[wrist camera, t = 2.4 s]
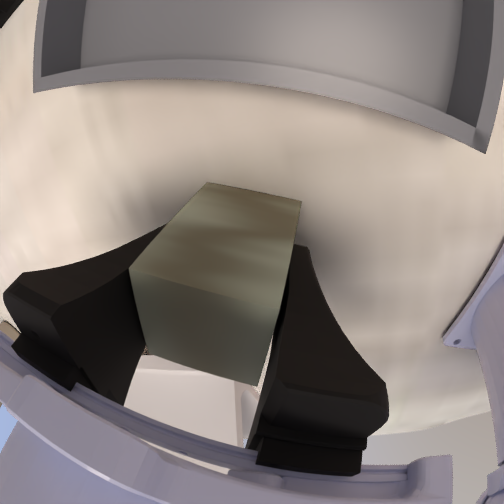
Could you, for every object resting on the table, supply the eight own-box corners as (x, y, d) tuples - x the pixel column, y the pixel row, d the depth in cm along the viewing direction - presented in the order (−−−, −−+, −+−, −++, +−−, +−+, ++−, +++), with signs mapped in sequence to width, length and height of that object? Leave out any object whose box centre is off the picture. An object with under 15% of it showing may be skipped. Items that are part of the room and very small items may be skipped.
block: (301, 201, 11) (279, 309, 7) (283, 276, 14) (257, 386, 9) (207, 182, 12) (128, 268, 7) (204, 257, 14) (148, 353, 10)
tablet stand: (295, 434, 26) (260, 574, 12) (135, 415, 36) (94, 504, 22) (208, 325, 18) (101, 575, 4) (49, 335, 28) (-17, 436, 14)
